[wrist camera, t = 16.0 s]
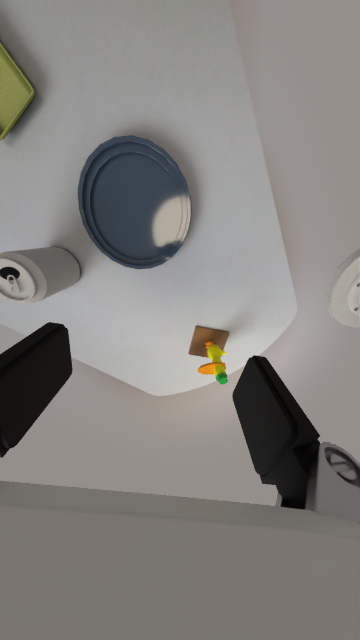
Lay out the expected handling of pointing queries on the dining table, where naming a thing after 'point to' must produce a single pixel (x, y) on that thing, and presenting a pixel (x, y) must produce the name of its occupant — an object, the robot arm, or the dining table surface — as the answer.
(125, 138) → the plate
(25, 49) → the dining table surface
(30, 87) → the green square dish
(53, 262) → the can
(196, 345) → the coaster
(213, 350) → the toy figure
